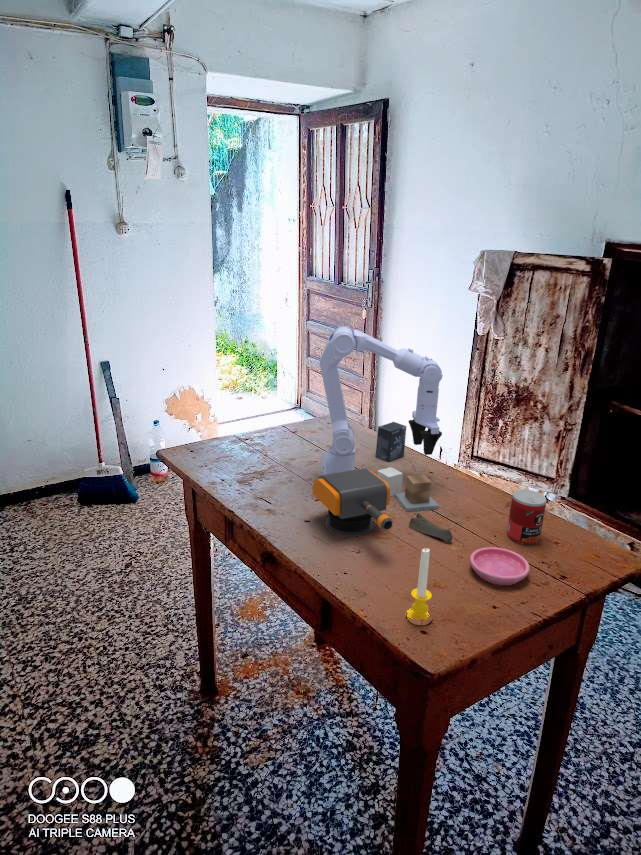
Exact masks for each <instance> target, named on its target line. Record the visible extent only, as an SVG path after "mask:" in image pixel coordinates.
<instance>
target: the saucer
mask: <svg viewBox="0 0 641 855" xmlns="http://www.w3.org/2000/svg"><path fill="white" fill-rule="evenodd" d="M469 563H470V566H471V567H472V569H473V571H474V572H475V573H476V574H477V576H478V575H479V576H480V577H479V576H478V577H479V578H481V579H482V578H483V579H484V581H485V580H486V581H485V582H487V581H488V582H487V583H489V582H490V584H492V583H493V584H492V585H496V584H497V586H503V585H507V586H512V584H513V585H515V584H517V583H518V582H521V581H522V580H524V579H526V577H528V575H529V572H530V568H531V567H530V564H529V562H528V561H527V560H526V558H524V557H523V556H522V555H521V554H519V553H517V552H515V551H512V550H510V549H506V548H502V547H495V546H492V547H491V546H490V547H489V546H488V547H482V548H478V549H476V550H474V551H473V552H472V553H471V554H470V556H469ZM483 579H482V580H483Z"/></svg>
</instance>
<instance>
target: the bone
mask: <svg viewBox="0 0 641 855" xmlns="http://www.w3.org/2000/svg"><path fill="white" fill-rule="evenodd" d="M408 527H409V529H412V530H414V531H416V532H418V533H421V534H425V535H426V536H431V537H434V538H438V539H440V540H442V541H443V542H445V543H446V544H449V543H451V542H452V540H453V535H452V532H451V530H450V529H446V528H443V527H440V526H438V525H437V524H435V523H433V522H431V521H429V520H428V519H426V518H425V517H424V516H423V515H422V514H421V513H420V512H417V513H416V516H415V517H411V518H410V520H409V523H408Z"/></svg>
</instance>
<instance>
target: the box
mask: <svg viewBox="0 0 641 855" xmlns="http://www.w3.org/2000/svg"><path fill="white" fill-rule="evenodd" d="M377 427H378V428H377V435H376V436H377V437H376V448H375V449H376V450H375V458H378V459H380V460H382V461H385V462H387V463H390V462H391V461H395V460H397V459H399V458H403V457H405V449H406V448H405V447H406V437H407V436H406V435H407V428H408V427H407V425H404V424H402V423H398V422H395V421H392V422H388V423H386V424H383V425H382V424H381V425H379V426H377Z"/></svg>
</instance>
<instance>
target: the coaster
mask: <svg viewBox="0 0 641 855" xmlns="http://www.w3.org/2000/svg"><path fill="white" fill-rule="evenodd" d="M394 497H395V499H396V500H397V502H399V504H400V506H402V508H403V509H404V510H405V512H406V513H408V512H418V511H428V510H438V509H439V504H438V503H437V502H436V501H435V500H434V499H433V498H432V496H430V499H429V503H419V504H411V503H410V502H409V500H408V499H407V498H406V496H405V491H404V492H401V493H395V495H394Z"/></svg>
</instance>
